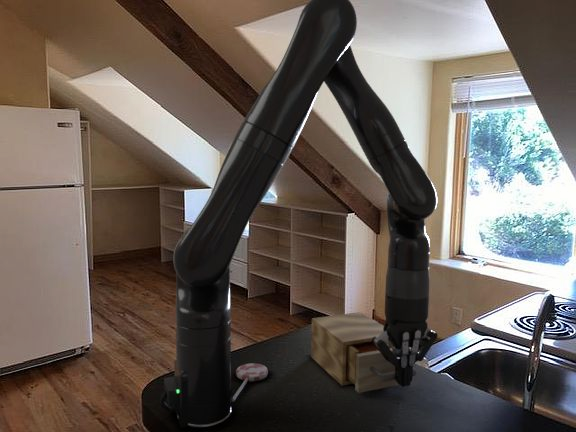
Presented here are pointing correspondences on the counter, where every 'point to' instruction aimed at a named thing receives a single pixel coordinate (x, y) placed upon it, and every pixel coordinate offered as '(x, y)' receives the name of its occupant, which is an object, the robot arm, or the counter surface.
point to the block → (366, 349)
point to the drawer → (369, 368)
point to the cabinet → (340, 340)
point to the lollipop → (250, 374)
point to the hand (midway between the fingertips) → (403, 384)
